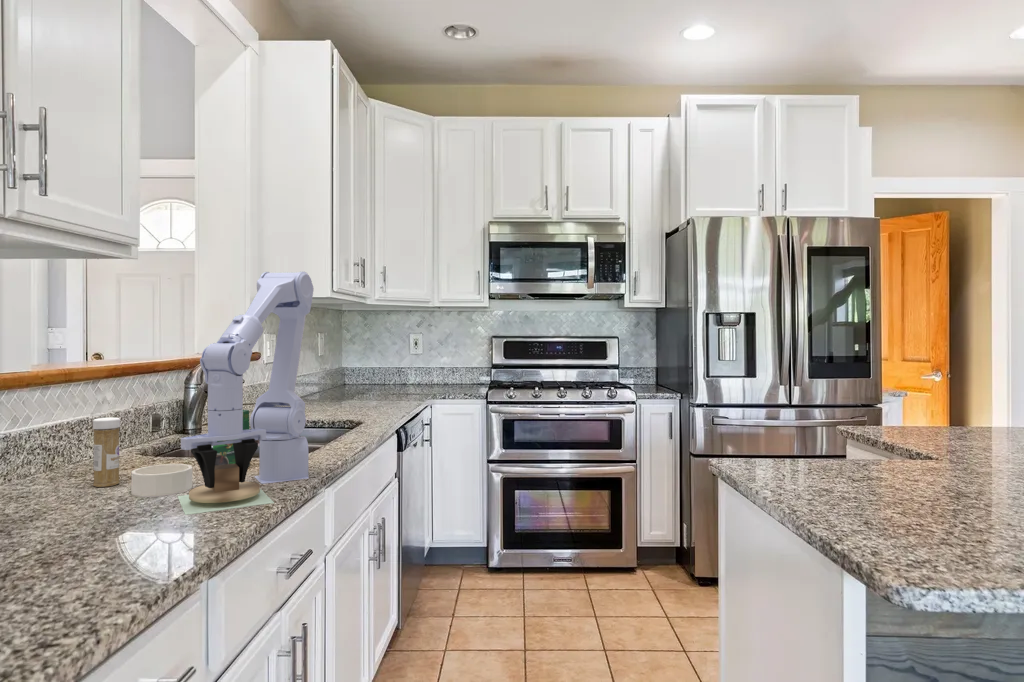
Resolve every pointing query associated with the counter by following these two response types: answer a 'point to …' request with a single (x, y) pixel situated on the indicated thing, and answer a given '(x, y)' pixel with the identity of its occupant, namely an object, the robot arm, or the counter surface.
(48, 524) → the counter surface
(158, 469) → the cream bowl
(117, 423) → the sprinkles bottle
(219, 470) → the oak lid
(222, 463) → the coffee box
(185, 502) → the sage mat
